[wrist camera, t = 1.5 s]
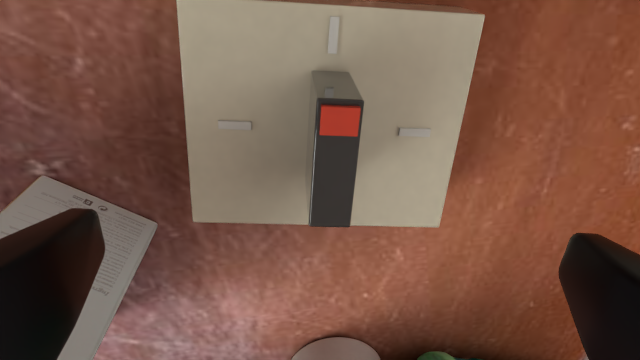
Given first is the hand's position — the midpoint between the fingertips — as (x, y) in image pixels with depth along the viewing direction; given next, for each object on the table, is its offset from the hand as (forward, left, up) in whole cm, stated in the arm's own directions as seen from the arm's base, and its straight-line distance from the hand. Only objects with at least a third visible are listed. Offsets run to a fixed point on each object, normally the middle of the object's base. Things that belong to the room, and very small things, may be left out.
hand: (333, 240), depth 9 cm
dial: (-2, -1, -11) cm, 11 cm away
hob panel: (-2, -1, -14) cm, 14 cm away
